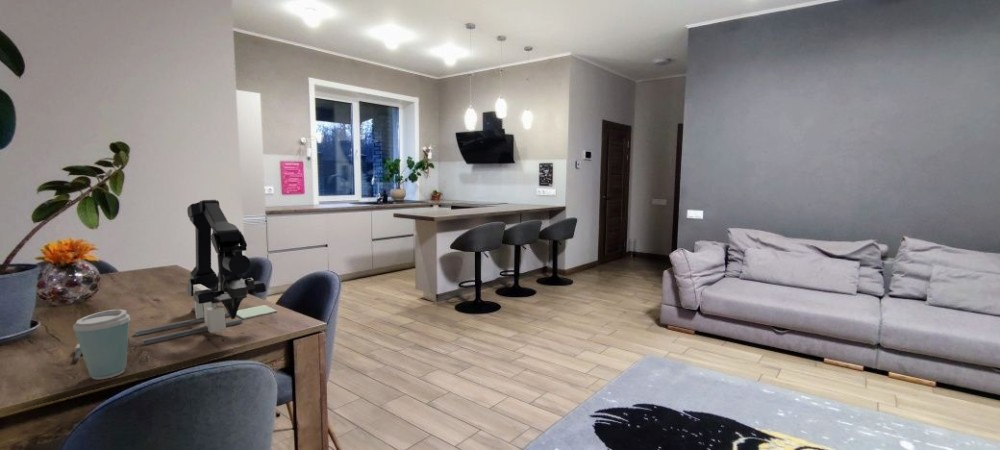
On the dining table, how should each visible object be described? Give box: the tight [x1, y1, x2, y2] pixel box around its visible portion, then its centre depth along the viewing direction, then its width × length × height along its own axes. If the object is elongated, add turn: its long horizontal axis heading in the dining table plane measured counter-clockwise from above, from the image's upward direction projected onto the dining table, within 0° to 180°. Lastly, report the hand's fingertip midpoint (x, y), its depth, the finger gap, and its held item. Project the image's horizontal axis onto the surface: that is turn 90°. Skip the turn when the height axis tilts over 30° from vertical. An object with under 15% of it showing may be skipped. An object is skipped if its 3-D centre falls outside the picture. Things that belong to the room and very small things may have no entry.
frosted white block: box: [193, 284, 227, 334], centre depth 144 cm, size 20×4×11 cm, turn 47°
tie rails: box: [134, 311, 243, 346], centre depth 145 cm, size 13×26×1 cm, turn 137°
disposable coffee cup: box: [72, 309, 131, 380], centre depth 111 cm, size 11×11×15 cm
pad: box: [236, 304, 278, 320], centre depth 162 cm, size 11×11×1 cm
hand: (233, 318), depth 142 cm, fingers closed
